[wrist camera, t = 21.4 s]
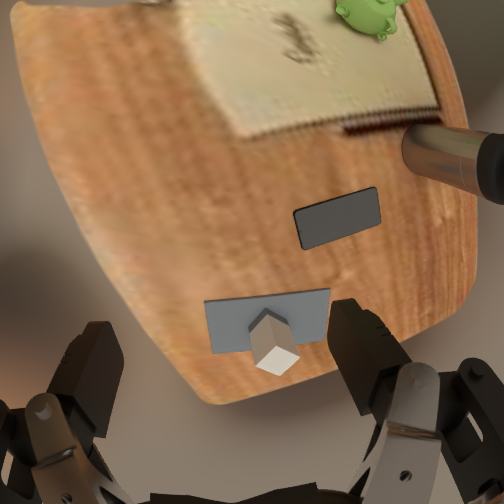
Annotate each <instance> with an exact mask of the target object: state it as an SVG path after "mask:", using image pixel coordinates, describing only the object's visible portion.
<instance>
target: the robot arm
mask: <svg viewBox="0 0 504 504" xmlns="http://www.w3.org/2000/svg"><path fill="white" fill-rule="evenodd" d="M402 154H403V158H404V161H405V163H406V165H407V167H408V168H409V169H410V170H411V171H412V172H414V173H415V174H418V175H421V176H424V177H428V178H430V179H433V180H436V181H439V182H442V183H445V184H448V185H451V186H453V187H456V188H459V189H461V190H464V191H467V192H469V193H472V194H475V195H477V196H480V197H482V198H484V199H487V200H489V201H492V202H494V203H497V204H500V205H504V134H496V133H489V132H483V131H477V130H470V129H463V128H455V127H446V126H436V125H425V124H416V125H414V126H412V127H411V128H409V129H408V131H407V132H406V134H405V136H404V139H403V143H402ZM327 341H328V346H329V349H330V352H331V354H332V356H333V358H334V360H335V362H336V364H337V366H338V368H339V370H340V372H341V374H342V376H343V379H344V381H345V383H346V385H347V387H348V389H349V391H350V393H351V395H352V397H353V400H354V402H355V404H356V406H357V408H358V410H359V413H360V415H361V416H364V415H367V414H371V413H372V414H373V416H374V418H375V420H376V422H375V424H374V427H373V430H372V433H371V436H370V439H369V442H368V444H367V447H366V450H365V452H364V455H363V458H362V460H361V463H360V465H359V467H358V470H357V471H356V473H355V475H354V477H353V479H352V481H351V483H350V484H349V487H348V489H347V491H346V493H345V492H342V491H336V490H327V489H318V488H317V485H316V482H314V483H309V484H304V485H299V486H294V487H288V488H283V489H276V490H273V491H270V492H267V493H265V494H262V495H259V496H256V497H253V498H250V499H247V500H243V501H240V502H236V503H226V502H220V501H214V500H209V499H204V498H199V497H195V496H190V495H169V494H156V493H150V501H147V502H143V503H138V504H428V503H429V500H430V496H431V492H432V488H433V484H434V480H435V476H436V471H437V466H438V460H439V455H440V450H441V452H442V454H443V456H444V459H445V461H446V463H447V465H448V467H449V469H450V472H451V474H452V476H453V478H454V481H455V483H456V485H457V487H458V490H459V492H460V495H461V497H462V499H463V502H464V504H504V385H503V383H502V382H501V381H500V380H499V378H498V377H497V375H496V374H495V373H494V372H493V370H492V369H491V368H490V367H489V365H488V364H487V363H486V362H484V361H483V360H481V359H477V358H467V359H465V360H463V361H462V363H461V364H460V366H459V368H458V370H457V371H452V372H440V373H437V372H436V370H435V369H434V368H432V367H431V366H429V365H427V364H425V363H421V362H412V360H411V359H410V358H409V356H408V355H407V353H406V352H405V351H404V349H403V348H402V347H401V346H400V344H399V343H398V341H397V340H396V339H395V337H394V336H393V335H391V332H390V331H389V329H388V328H387V327H385V324H384V323H383V322H382V320H381V319H380V318H379V316H377V315H376V314H374V313H372V312H371V311H369V310H368V309H366V310H362V308H361V307H360V306H359V304H358V303H357V302H356V300H355V299H353V298H350V299H343V300H337V301H333V302H332V304H331V310H330V318H329V325H328V332H327ZM123 367H124V357H123V353H122V350H121V348H120V345H119V343H118V340H117V338H116V335H115V333H114V330H113V328H112V325H111V323H110V322H109V321H90V322H89V323H88V324H87V326H86V328H85V329H84V331H83V333H82V335H78V336H77V337H76V338H75V339H74V340H73V341H72V342H71V343H70V344H69V346H68V348H67V350H66V352H65V355H64V356H63V358H62V360H61V364H59V366H58V368H57V370H56V372H55V374H54V376H53V378H52V380H51V382H50V384H49V387H48V389H47V391H46V393H40V394H37V395H35V396H34V397H33V398H31V399H30V401H29V402H28V404H27V405H26V408H19V409H9V407H8V406H7V405H6V404H5V403H4V402H3V401H2V400H0V504H42V502H43V504H135V503H134V502H133V501H132V499H131V498H130V497H129V496H128V495H127V494H126V493H125V492H124V491H123V489H121V487H120V486H119V484H118V483H117V481H116V480H115V478H114V476H113V475H112V473H111V471H110V470H109V468H108V466H107V465H106V463H105V461H104V459H103V458H102V456H101V454H100V452H99V451H98V449H97V447H96V445H95V444H94V443H93V438H94V437H100V438H106V434H107V429H108V424H109V421H110V416H111V412H112V408H113V404H114V400H115V397H116V393H117V389H118V386H119V382H120V378H121V375H122V371H123ZM469 413H471V415H472V416H473V418H474V419H475V421H476V423H477V425H478V426H479V428H480V430H481V431H482V434H483V442H481V439H480V438H479V436H478V435H477V432H476V431H475V429H474V427H473V426H472V424H471V422H470V420H469V419H468V417H467V416H468V414H469ZM7 451H8V452H9V453H10V454H11V455H12V456H13V457H14V458H13V462H12V466H11V470H10V474H9V478H8V483H7V486H6V485H5V484H4V483H3V481H2V478H1V470H2V467H3V463H4V459H5V456H6V452H7Z"/></svg>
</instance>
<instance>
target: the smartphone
mask: <svg viewBox="0 0 504 504" xmlns="http://www.w3.org/2000/svg"><path fill="white" fill-rule="evenodd" d="M293 216H294V220H295V224H296V228H297V232H298V236H299V240H300V244H301V248H302V249H303V250H308V249H311V248H313V247H316V246H319V245H322V244H325V243H328V242H331V241H334V240H337V239H340V238H342V237H345V236H348V235H351V234H354V233H357V232H360V231H362V230H365V229H368V228H371V227H374V226H377V225H379V224H380V223H381V215H380V207H379V200H378V193H377V189H376V187H370V188H367V189H363V190H360V191H357V192H353V193H350V194H347V195H343V196H340V197H337V198H333V199H330V200H327V201H324V202H320V203H317V204H313V205H310V206H307V207H304V208H301V209H298V210H295V211H294V212H293Z"/></svg>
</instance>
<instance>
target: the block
mask: <svg viewBox="0 0 504 504" xmlns="http://www.w3.org/2000/svg"><path fill="white" fill-rule="evenodd" d="M248 329H249V335H250V340H251V346H252V352H253V357H254V363H255V366H256V367H258V368H261V369H263V370H265V371H268V372H270V373H273V374H275V375H278V376H280V375H282V374H283V373H284V372H285V371H286V370H287V369H288V368H289V367H290V366H291V365H293V364H294V363H295V362H296V361H297V360H298V359H299V358H300V354H299V352H298V349H297V346H296V343H295V341H294V338H293V335H292V332H291V330H290V327H289V324H288V321H287V319H285V318H284V317H282V316H280V315H278V314H276V313H274V312H273V311H271V310H269V309H267V308H266V307H265V308H264V309H263V311H262V312H261V313H260V314H259V315H258V316H257V317H256V318H255V320H254V321H253V322H252V323H251V324H250V325H249V326H248Z"/></svg>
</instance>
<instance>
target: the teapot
mask: <svg viewBox="0 0 504 504" xmlns="http://www.w3.org/2000/svg"><path fill="white" fill-rule="evenodd" d="M407 2H409V1H408V0H336V4H337V7H336V12H337V13H338V14H340V15H341V16H342V17H343V18H344V20H345V21H346V22H347V23H348V24H349V25H350V26H351V28H352V29H354V30H359V31H361V32H363V33H367V34H377V36H378V38H379V39H380V40H382V41H384V40H386V39H387V36H386V35H385V34H387V35H389V34H394V33H395V32H396V31H397V26H396V23H395V21H394V19H395V14H396V7H395V6H397V5H401V4H404V3H407ZM390 27H391V30H390V31H386V30H387V29H389V28H390Z"/></svg>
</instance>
